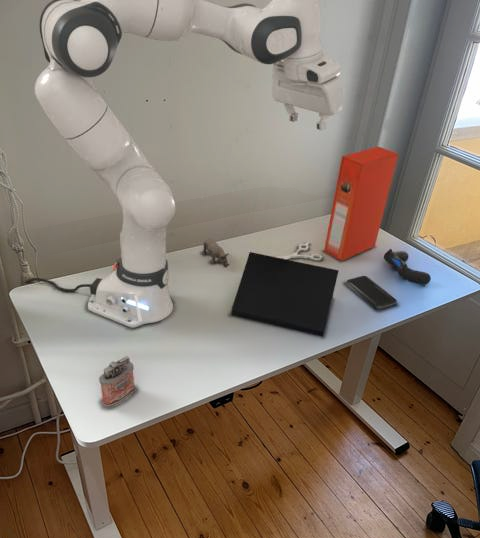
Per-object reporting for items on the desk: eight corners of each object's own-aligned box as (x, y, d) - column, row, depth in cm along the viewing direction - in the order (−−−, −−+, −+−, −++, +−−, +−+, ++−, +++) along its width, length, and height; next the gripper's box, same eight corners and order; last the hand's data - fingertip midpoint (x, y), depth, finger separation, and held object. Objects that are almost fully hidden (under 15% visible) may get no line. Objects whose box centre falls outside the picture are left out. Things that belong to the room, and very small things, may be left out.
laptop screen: (249, 253, 141) (249, 251, 141) (338, 271, 137) (338, 270, 136) (231, 310, 135) (231, 308, 134) (324, 331, 130) (324, 330, 130)
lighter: (108, 410, 107) (104, 376, 100) (99, 402, 108) (94, 368, 102) (138, 391, 112) (136, 358, 105) (129, 383, 113) (126, 350, 107)
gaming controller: (395, 265, 168) (376, 253, 163) (407, 251, 166) (388, 239, 161) (422, 293, 156) (402, 282, 150) (435, 279, 154) (415, 267, 148)
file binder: (323, 250, 168) (342, 155, 148) (356, 237, 177) (378, 146, 157) (341, 261, 163) (363, 164, 143) (374, 246, 172) (399, 154, 153)
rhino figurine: (222, 274, 152) (223, 257, 148) (199, 253, 161) (200, 236, 157) (233, 271, 154) (234, 254, 150) (211, 250, 162) (211, 233, 159)
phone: (378, 307, 142) (345, 280, 152) (377, 311, 142) (344, 283, 152) (399, 301, 145) (365, 274, 155) (398, 304, 146) (365, 278, 156)
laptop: (248, 281, 150) (249, 275, 149) (332, 299, 145) (333, 293, 144) (231, 315, 136) (231, 309, 135) (323, 336, 132) (324, 331, 130)
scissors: (327, 256, 163) (275, 269, 154) (327, 258, 164) (275, 271, 155) (308, 241, 170) (258, 252, 161) (308, 243, 171) (257, 254, 162)
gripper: (262, 63, 120) (269, 120, 130) (326, 77, 108) (329, 139, 117) (281, 55, 123) (287, 111, 132) (346, 67, 110) (347, 128, 119)
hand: (307, 124), depth 124 cm, fingers open, 8 cm apart
